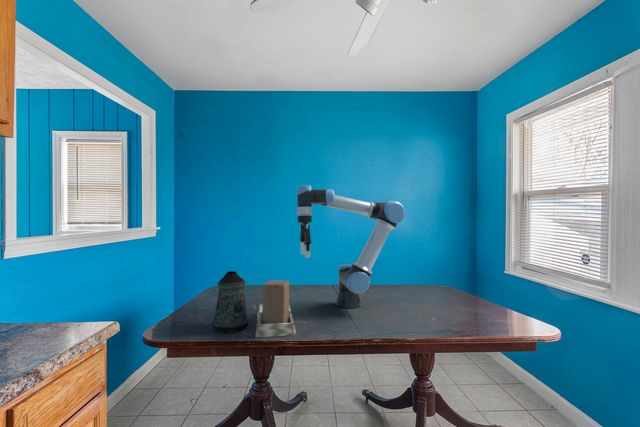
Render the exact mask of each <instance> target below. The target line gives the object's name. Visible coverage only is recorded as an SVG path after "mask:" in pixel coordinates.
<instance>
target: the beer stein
mask: <svg viewBox="0 0 640 427" xmlns="http://www.w3.org/2000/svg"><path fill="white" fill-rule="evenodd" d="M245 286H246V280H245V279H244V278H242V277H241V276H240V275H239V274H238V273H237V271H234V270H233V271H232V270H231V271H227V272H226V273H225V274H224V275H223V277H222V278H220V280H219V281H218V282H217V287H218V294H217V300H216V301H217V302H216V305H215V306H216V307H215V311H214V315H213V319H212V321H211V324H212V330H213V332H215V333H217V334H224V335H228V334H236V333H241V332H244V331H246V330H247V329H248V328H249V325H250V321H251V318H250V316H249V313H248V310H247V309H248V308H247V302H246V293H245Z"/></svg>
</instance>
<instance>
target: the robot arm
mask: <svg viewBox="0 0 640 427" xmlns="http://www.w3.org/2000/svg"><path fill="white" fill-rule="evenodd" d="M296 203H297V208H296V212H297V223H298V224H299V223H300V235H299V240H300V255H304V258H307V259H308V258H311V244H312V237H311V228H310V226H311V225H310V223H311V224H312V223H313V217H312V214H313V206H312V204H313V205H316V206H323V207H328V208H332V209H333V208H334V209H337V210H343V211H345V212H351V213H356V214H360V215H365V216H366V217H367V218H369V219H372V220H375V223H376V224H375V226H374V228H373V229H372V232H371V233H370V235H369V238H368V239H367V242H366V243H365V245H364V247H363V249H362V251H361V252H360V254H359V257H358V259H357V261H355V262H352V264H342V265H341V264H340V265H339V266H338V291H337V292H338V293H337V294H336V298H335V304H334V305H335V306H336V307H339V308H344V309H357V308H360V307H361V306H362V305H363V304H362V298H361V295H360V294H364V293H366V292H367V290H369V288H370V285H371V280H370V279H371V277H372V275H373V271H372V268H373V266H374V265H375V262H376V260H377V259H378V257H379V255H380V253H381V250H382V248H383V247H384V245H385V242H386V241H387V238H388V237H389V234H390V233H391V231H392V230H393V231H394V230H395V229H396V227H397V226H398V223H401V222H402V221H403V220H404V218H405V215H406V209H405V207H404V206H403V204H402V203H400V202H399V201H394V200H389V201H384V202H383V201H382V202H376V201H370V202H368V201H363V200H359V199H354V198H349V197H346V196H341V195H337V194H335V191H334V190H333V189H330V188H329V189H328V188H327V189H326V188H324V189H322V188H321V189H314V188H312V186H311V185H305V184H303V185H298V186H297V188H296Z"/></svg>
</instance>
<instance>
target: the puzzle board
mask: <svg viewBox="0 0 640 427" xmlns="http://www.w3.org/2000/svg"><path fill="white" fill-rule="evenodd" d="M259 308H260V306H259ZM256 315H257V316H256V327H255V338H269V337H270V338H274V337H288V336H290V337H292V336H297V331H296V326H295V323H294V319H293V315H292V312H291V313H289V323H273V324H262V314H259V311H257V314H256Z"/></svg>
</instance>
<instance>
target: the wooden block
mask: <svg viewBox="0 0 640 427" xmlns="http://www.w3.org/2000/svg"><path fill="white" fill-rule="evenodd" d="M262 298H263V303H262V302H261V304H262V324H273V323H289V305H290V281H289V280H280V279H279V280H278V279H277V280H274V279H272V280H271V279H270V280H268V281H266V282H264V283H263V285H262Z"/></svg>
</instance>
